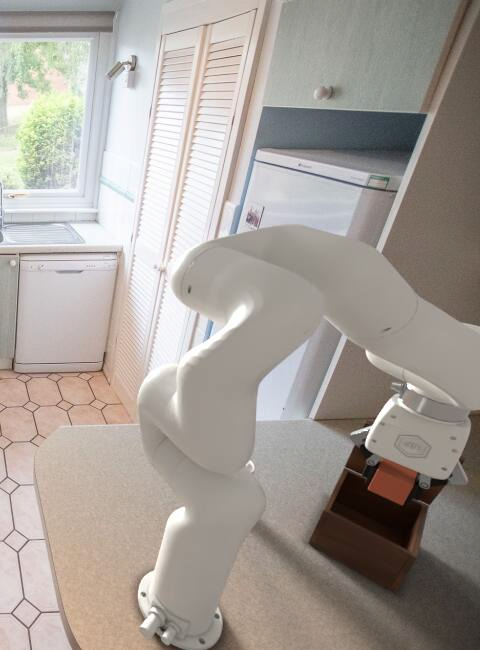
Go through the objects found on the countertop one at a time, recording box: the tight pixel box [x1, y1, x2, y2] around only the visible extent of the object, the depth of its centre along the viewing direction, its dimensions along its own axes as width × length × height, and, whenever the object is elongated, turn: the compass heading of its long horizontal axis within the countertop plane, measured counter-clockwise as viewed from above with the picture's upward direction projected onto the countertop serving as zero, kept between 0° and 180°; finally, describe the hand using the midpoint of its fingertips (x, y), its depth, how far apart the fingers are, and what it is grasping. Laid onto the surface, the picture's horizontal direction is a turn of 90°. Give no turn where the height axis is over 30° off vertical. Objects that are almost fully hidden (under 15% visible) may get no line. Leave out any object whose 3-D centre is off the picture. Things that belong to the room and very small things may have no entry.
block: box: [368, 458, 418, 505], centre depth 75 cm, size 4×4×4 cm
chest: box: [307, 467, 430, 593], centre depth 84 cm, size 16×13×9 cm
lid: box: [344, 419, 467, 506], centre depth 82 cm, size 16×13×5 cm
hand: (387, 489), depth 76 cm, fingers closed on block, 4 cm apart
